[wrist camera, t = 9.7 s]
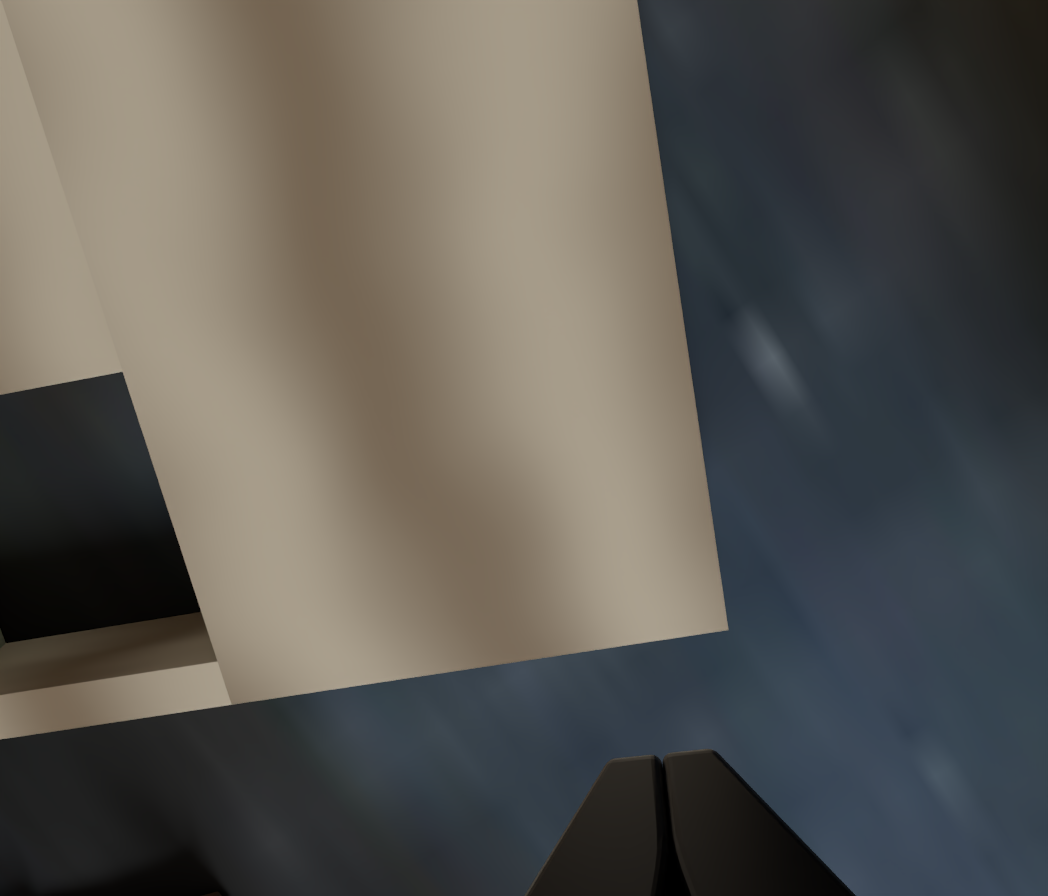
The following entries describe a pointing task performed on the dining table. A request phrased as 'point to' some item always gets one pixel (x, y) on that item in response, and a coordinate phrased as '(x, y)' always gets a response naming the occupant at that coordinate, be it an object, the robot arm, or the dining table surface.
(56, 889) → the dining table surface
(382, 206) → the trap board
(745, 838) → the robot arm
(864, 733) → the dining table surface
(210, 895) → the letter holder
